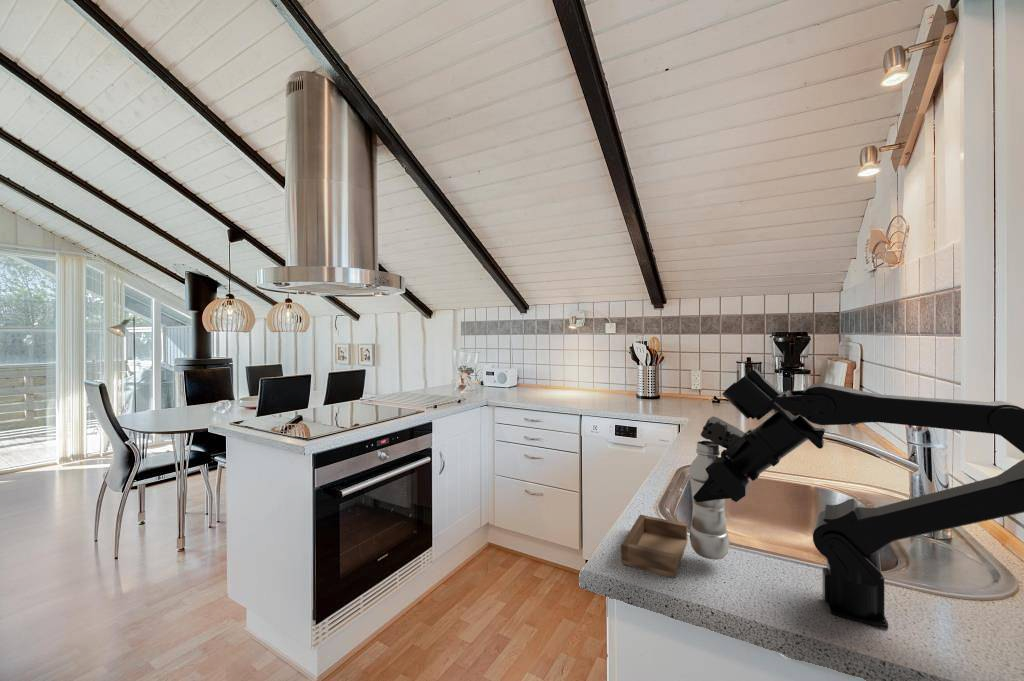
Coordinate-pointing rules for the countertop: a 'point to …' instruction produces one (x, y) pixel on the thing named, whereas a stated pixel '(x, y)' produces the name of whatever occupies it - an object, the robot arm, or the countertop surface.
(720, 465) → the robot arm
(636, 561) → the bottle stand
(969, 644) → the countertop surface
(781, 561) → the countertop surface
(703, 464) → the silver metal bottle
